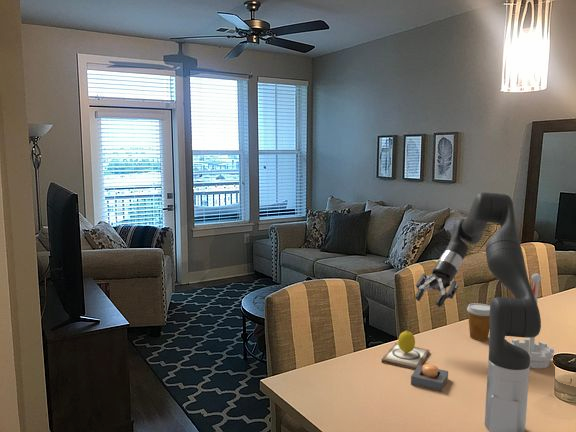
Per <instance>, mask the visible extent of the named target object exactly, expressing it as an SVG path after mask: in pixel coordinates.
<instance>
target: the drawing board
mask: <svg viewBox="0 0 576 432" xmlns="http://www.w3.org/2000/svg"><path fill="white" fill-rule="evenodd" d="M430 351H431V350H430V349H427V348H422V347H418V346H414V349H413V350H412V351H410V352H408V353H405V352H404V351H402V350H401V349H400V347H399V345H398V343H394V344H393V345H392V347H391V348H389V350H388V351H387V352H386V353H385V355H383V357H382V358H381V363H384V364H388V365H393V366H399V367H402V368H407V369H411V370H414V371H415V370H416V368H417V367H418V365H422V364H423V363H424V362H425V360H426V358H428V355H429V353H430ZM422 366H423V365H422Z"/></svg>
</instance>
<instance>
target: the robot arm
mask: <svg viewBox="0 0 576 432" xmlns="http://www.w3.org/2000/svg"><path fill="white" fill-rule="evenodd" d="M514 208H515V207H514V203H513V200H512V197H511V196H510V195H507V194H505V193H499V192H498V193H497V192H496V193H495V192H479V193H478V194H477V195H475V197H474V198H473V202H472V203H471V206H470V209H469V212H468V215H467V217H466V218H465V219H464V218H459V219H458V220H456V221H455V222H454V224H453V227H452V231H451V236H450V241H449V242H448V245H447V246H446V248H445V250H444V252H443V253H442V254H441V255H440V257H439V259H438V261H437V262H436V263H435V266H434V268H433V269H432V273H431V274H430V275H427V274H426V273H423V274H421V276H420V277H419V279H418V281H417V282H416V284H415V288H416V289H417V292H416V293H415V295H414V297H415V300H416V302H417V301H418V302H420V301H421V299H422V297H423V295H424V294H425V292H427V291H431V290H433V291H436V290H437V292H441V294H440V295H439V296H438V299H437V301H436V302H435V305H436V306H437V307H438V308H441V307H442V306H443V305H444V304H445V301H446V300H447V299H453V298H454V296H455V295H456V292H457V290H458V288H459V284H458V282H457V281H456V280H454V279H455V277H456V275H457V273H458V271H459V270H460V268H461V265H462V264H463V261H464V259H465V257H466V255H467V253H468V252H469V247H468V246H467V244H466V243H468V244H471V245H475V244H478V243H479V242H480V240H481V239H482V237H483V234H484V233H483V232H484V230H485V229H486V228H487V225H488V223H489V224H490V223H491V224H499V225H500V227H499V229H498V230H497V231H495V233H493V235H492V236H491V237H490V238H489V239H488V241H487V243H486V245H485V255H486V261H487V267H488V269H489V271H490V272H491V274H492V275H493V276H494V278H496V279H497V280H498V281H499V282H500V283H501V284H503V285H504V286H505V287H506V288H507V290H509V291H510V292H511V294H512V296H513V297H502V296H496V297H493V299H492V300H491V302H490V305H489V306H490V330H489V336H488V341H489V342H488V358H487V359H488V360H487V361H488V363H487V377H486V380H487V381H486V394H485V412H484V414H485V415H484V426H485V427H486V428H487V430H488V432H526V423H527V422H526V421H527V411H528V409H527V408H528V395H529V382H530V379H529V378H530V368H531V367H530V355H529V354H528V352H527V351H525V350H524V349H522V348H520V347H518V346H516V345H513V344H511V343H512V342H511V343H510V341H508V340H506V337H514V338H523V339H530V338H532V337H535V338H536V337H537V336H539V335H540V332H541V329H542V319H541V313H540V310H539V305H538V301H537V302H536V299H535V297H534V294H533V291H532V290H533V287H532V286H531V283H530V280H529V277H528V272H527V267H526V263H525V262H526V261H525V258H524V253H523V249H522V247H521V246H522V245H521V242H520V239H519V234H518V232H517V231H518V230H517V225H516V218H515V217H516V216H515V209H514ZM464 241H465V242H464ZM448 287H449V288H448ZM447 288H448V291H447Z"/></svg>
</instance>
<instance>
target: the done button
mask: <svg viewBox="0 0 576 432" xmlns="http://www.w3.org/2000/svg"><path fill="white" fill-rule="evenodd" d="M422 366H423V370H422V375H423V376H426V377H430V378H437V376H438V369H439V367H438V366H437V365H435V364H432V363H431V364H430V363H425V364H423V365H422Z"/></svg>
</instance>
